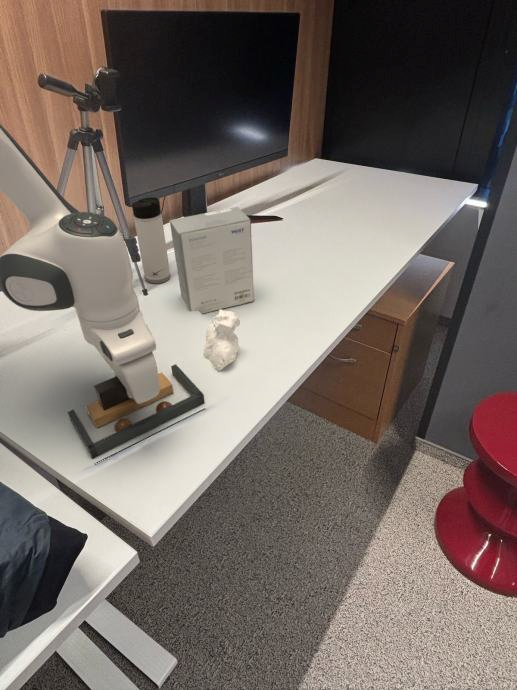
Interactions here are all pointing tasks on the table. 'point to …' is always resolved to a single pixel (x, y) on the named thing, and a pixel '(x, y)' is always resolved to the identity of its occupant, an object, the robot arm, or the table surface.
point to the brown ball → (163, 406)
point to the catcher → (145, 424)
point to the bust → (222, 339)
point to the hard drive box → (214, 259)
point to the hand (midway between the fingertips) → (128, 388)
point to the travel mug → (151, 240)
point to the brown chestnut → (122, 424)
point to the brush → (120, 400)
